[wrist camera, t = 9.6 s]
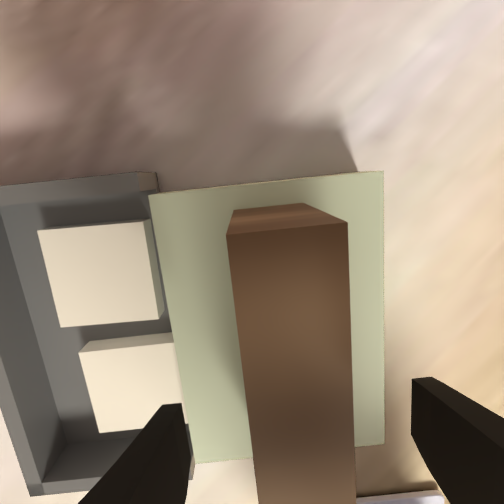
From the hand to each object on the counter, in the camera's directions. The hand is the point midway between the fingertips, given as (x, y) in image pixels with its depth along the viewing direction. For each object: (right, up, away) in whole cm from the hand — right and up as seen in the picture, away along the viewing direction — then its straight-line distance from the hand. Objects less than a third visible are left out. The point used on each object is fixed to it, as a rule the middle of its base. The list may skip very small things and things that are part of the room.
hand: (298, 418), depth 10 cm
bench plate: (0, +2, +8) cm, 8 cm away
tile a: (-8, -2, +8) cm, 12 cm away
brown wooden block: (0, +1, +5) cm, 5 cm away
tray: (-10, +1, +8) cm, 13 cm away
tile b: (-9, +4, +7) cm, 12 cm away
